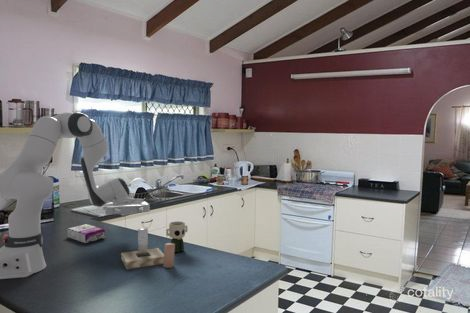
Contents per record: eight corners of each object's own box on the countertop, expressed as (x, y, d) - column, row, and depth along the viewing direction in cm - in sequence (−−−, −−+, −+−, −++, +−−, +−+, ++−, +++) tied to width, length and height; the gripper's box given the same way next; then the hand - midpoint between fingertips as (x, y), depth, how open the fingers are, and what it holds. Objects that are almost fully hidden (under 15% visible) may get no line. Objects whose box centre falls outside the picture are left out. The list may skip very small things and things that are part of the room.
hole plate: (126, 269, 154) (126, 262, 154) (121, 259, 165) (121, 252, 165) (165, 263, 161) (165, 256, 161) (158, 254, 172) (158, 247, 172)
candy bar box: (105, 238, 195) (87, 232, 205) (105, 228, 195) (87, 223, 205) (85, 244, 187) (67, 237, 197) (84, 234, 186) (66, 227, 196)
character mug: (170, 255, 171) (170, 226, 170) (162, 251, 176) (162, 223, 175) (191, 250, 178) (191, 222, 176) (183, 246, 183) (183, 219, 182)
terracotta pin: (169, 268, 155) (171, 246, 155) (161, 266, 157) (163, 244, 156) (175, 265, 159) (176, 244, 158) (167, 263, 160) (168, 242, 160)
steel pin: (139, 263, 161) (139, 230, 159) (137, 260, 164) (137, 228, 163) (149, 262, 162) (148, 229, 161) (146, 259, 166) (146, 227, 165)
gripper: (102, 200, 182) (106, 206, 170) (145, 198, 191) (152, 203, 179) (102, 214, 183) (106, 220, 170) (145, 211, 191) (152, 216, 179)
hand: (130, 211), depth 175 cm, fingers open, 8 cm apart
